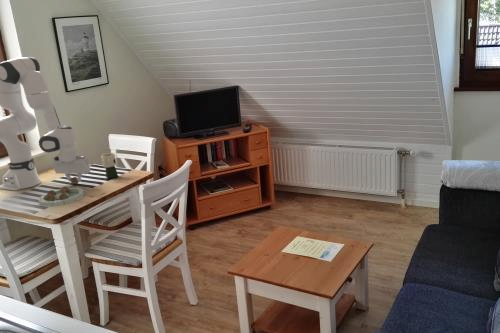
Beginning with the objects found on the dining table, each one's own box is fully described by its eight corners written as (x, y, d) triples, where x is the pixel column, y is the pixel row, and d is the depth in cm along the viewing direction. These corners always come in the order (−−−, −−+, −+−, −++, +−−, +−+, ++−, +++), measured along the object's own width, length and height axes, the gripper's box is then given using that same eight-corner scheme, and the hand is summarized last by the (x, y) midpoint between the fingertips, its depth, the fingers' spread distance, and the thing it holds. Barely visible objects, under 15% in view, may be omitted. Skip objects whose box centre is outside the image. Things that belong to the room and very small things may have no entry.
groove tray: (30, 207, 248) (28, 202, 247) (59, 191, 267) (58, 187, 266) (65, 208, 241) (64, 203, 240) (93, 192, 260) (92, 187, 259)
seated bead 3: (58, 202, 248) (56, 194, 247) (63, 199, 251) (62, 191, 250) (65, 202, 246) (63, 195, 245) (70, 199, 250) (68, 192, 249)
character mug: (119, 179, 278) (114, 155, 274) (105, 181, 276) (101, 158, 273) (118, 173, 288) (114, 151, 284) (105, 176, 286) (101, 153, 283)
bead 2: (70, 185, 273) (68, 178, 272) (74, 182, 277) (73, 175, 276) (76, 185, 272) (74, 178, 271) (81, 183, 275) (79, 176, 274)
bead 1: (68, 195, 257) (66, 188, 256) (60, 196, 257) (58, 189, 256) (71, 192, 261) (69, 184, 260) (63, 193, 261) (61, 185, 260)
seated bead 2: (45, 203, 248) (43, 195, 247) (50, 200, 252) (48, 192, 251) (51, 203, 247) (49, 195, 246) (57, 200, 251) (55, 193, 249)
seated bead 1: (46, 199, 255) (44, 191, 253) (51, 196, 258) (50, 188, 257) (53, 199, 253) (51, 191, 252) (58, 196, 257) (56, 189, 256)
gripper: (90, 154, 269) (95, 179, 273) (57, 154, 276) (62, 178, 280) (83, 158, 264) (87, 183, 268) (50, 157, 270) (55, 182, 274)
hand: (74, 181), depth 274 cm, fingers closed on bead 2, 4 cm apart
